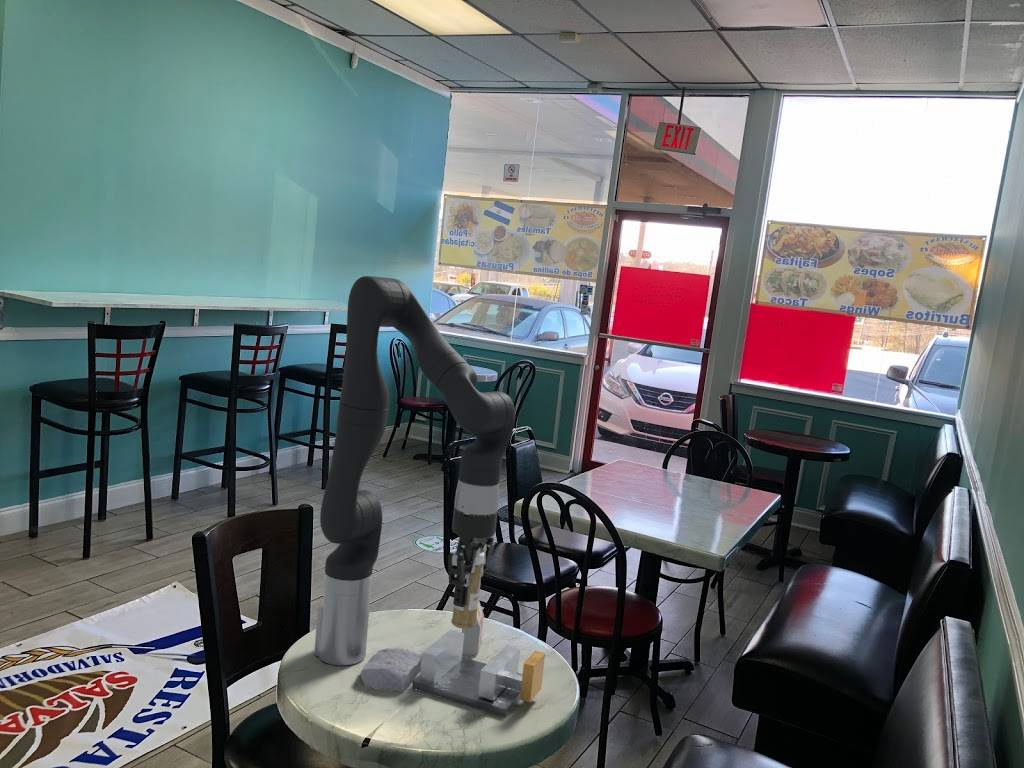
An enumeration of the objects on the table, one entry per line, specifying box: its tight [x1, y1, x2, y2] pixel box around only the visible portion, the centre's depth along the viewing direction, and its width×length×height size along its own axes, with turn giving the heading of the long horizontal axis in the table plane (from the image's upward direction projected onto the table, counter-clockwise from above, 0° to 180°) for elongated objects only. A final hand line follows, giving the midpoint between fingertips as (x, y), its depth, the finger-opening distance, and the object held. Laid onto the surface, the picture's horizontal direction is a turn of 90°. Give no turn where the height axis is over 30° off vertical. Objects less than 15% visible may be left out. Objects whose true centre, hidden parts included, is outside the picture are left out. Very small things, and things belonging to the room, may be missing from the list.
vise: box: [411, 629, 523, 718], centre depth 154 cm, size 19×14×7 cm
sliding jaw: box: [478, 645, 546, 703], centre depth 151 cm, size 9×12×7 cm
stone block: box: [360, 647, 422, 693], centre depth 156 cm, size 12×5×10 cm
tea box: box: [461, 601, 485, 656], centre depth 171 cm, size 4×7×10 cm, turn 175°
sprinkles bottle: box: [450, 551, 484, 629], centre depth 142 cm, size 5×5×14 cm
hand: (465, 600), depth 142 cm, fingers closed on sprinkles bottle, 4 cm apart
